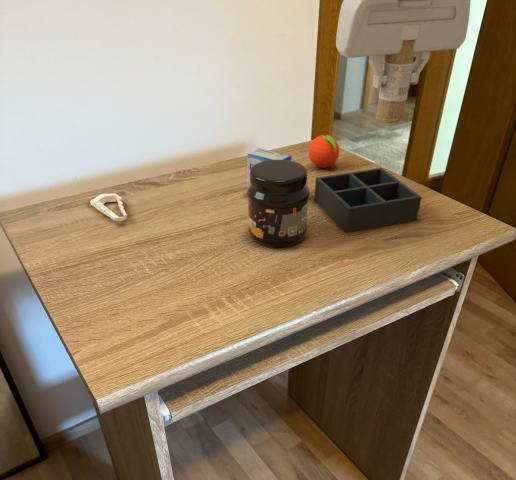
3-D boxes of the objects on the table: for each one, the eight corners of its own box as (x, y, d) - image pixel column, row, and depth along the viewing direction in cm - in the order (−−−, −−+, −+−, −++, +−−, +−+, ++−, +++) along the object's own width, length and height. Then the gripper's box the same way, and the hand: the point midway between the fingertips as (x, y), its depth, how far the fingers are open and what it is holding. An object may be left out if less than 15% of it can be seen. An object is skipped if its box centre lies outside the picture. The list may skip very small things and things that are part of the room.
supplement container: (242, 225, 91) (240, 161, 83) (296, 218, 93) (299, 155, 85) (256, 253, 83) (255, 186, 75) (314, 245, 85) (319, 178, 77)
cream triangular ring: (141, 219, 93) (139, 210, 92) (117, 227, 91) (115, 218, 90) (111, 196, 101) (110, 188, 100) (89, 203, 99) (87, 195, 98)
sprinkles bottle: (393, 114, 82) (409, 18, 73) (408, 122, 78) (427, 23, 69) (369, 117, 80) (382, 20, 71) (384, 125, 77) (399, 25, 68)
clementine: (346, 170, 110) (350, 138, 105) (321, 176, 108) (324, 143, 103) (326, 159, 115) (328, 127, 111) (301, 165, 113) (303, 133, 108)
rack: (378, 189, 102) (381, 167, 99) (416, 219, 92) (421, 196, 89) (314, 199, 99) (315, 177, 96) (346, 232, 89) (349, 209, 85)
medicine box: (247, 195, 101) (245, 153, 95) (259, 188, 104) (258, 146, 98) (278, 204, 97) (279, 161, 92) (290, 196, 100) (292, 154, 94)
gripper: (462, -30, 72) (440, 75, 81) (336, -25, 67) (327, 86, 76) (490, -27, 67) (463, 84, 76) (357, -21, 62) (345, 96, 71)
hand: (394, 85), depth 76 cm, fingers closed on sprinkles bottle, 4 cm apart
